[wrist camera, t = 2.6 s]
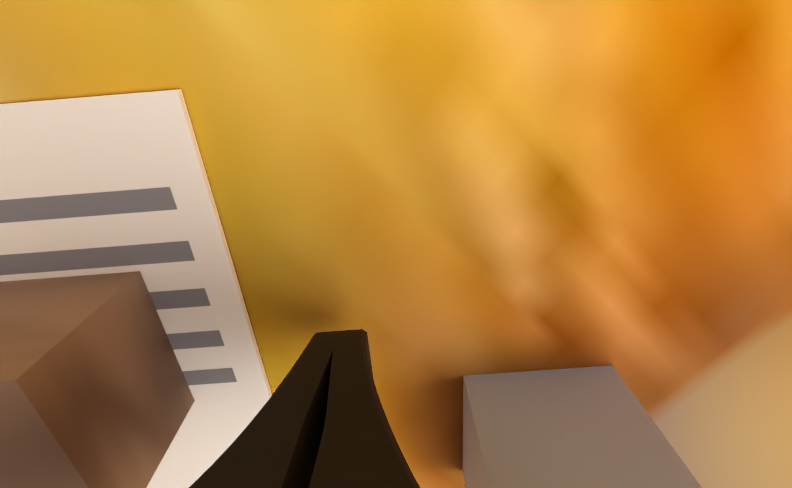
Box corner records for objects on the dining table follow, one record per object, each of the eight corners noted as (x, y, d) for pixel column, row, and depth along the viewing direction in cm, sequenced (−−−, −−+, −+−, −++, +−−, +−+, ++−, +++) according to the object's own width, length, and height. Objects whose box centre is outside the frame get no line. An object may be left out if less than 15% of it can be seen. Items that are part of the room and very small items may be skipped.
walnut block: (194, 400, 13) (120, 534, 9) (47, 411, 13) (-83, 547, 9) (140, 271, 11) (15, 380, 7) (-38, 284, 11) (-250, 399, 7)
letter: (295, 474, 15) (294, 480, 15) (42, 492, 15) (38, 497, 15) (181, 89, 9) (176, 89, 9) (-243, 124, 9) (-257, 125, 9)
